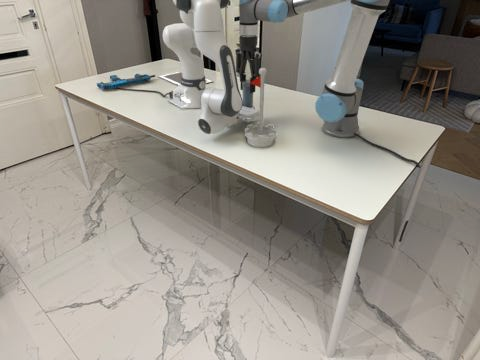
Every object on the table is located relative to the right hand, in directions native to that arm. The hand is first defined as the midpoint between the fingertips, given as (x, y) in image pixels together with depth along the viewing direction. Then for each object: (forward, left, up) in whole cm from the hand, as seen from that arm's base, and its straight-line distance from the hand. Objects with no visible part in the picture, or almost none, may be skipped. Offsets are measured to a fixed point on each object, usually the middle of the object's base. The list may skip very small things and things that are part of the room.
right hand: (247, 90), depth 152 cm
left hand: (0, -1, -8) cm, 8 cm away
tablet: (+75, +7, -14) cm, 77 cm away
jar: (0, 0, -14) cm, 14 cm away
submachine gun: (+85, +42, -14) cm, 96 cm away
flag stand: (-22, +5, -14) cm, 27 cm away
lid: (0, 0, +4) cm, 4 cm away
